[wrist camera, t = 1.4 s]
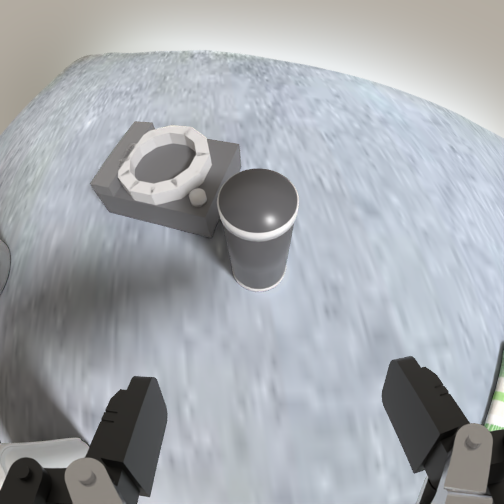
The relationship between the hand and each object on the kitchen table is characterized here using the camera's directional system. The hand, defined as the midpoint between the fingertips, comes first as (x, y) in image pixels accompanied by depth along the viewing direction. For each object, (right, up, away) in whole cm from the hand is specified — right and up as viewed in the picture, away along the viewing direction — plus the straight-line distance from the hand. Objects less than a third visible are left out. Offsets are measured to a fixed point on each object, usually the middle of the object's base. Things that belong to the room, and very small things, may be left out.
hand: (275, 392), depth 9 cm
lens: (0, +3, +17) cm, 18 cm away
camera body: (-9, +11, +21) cm, 26 cm away
